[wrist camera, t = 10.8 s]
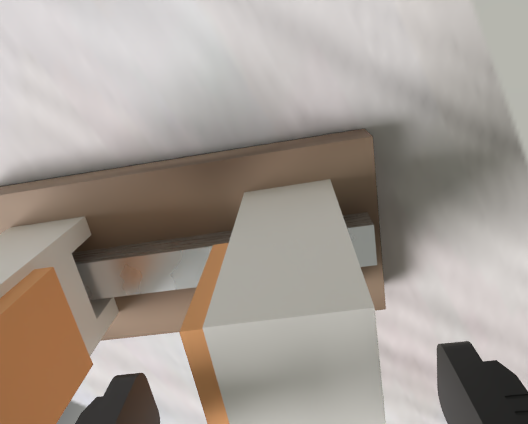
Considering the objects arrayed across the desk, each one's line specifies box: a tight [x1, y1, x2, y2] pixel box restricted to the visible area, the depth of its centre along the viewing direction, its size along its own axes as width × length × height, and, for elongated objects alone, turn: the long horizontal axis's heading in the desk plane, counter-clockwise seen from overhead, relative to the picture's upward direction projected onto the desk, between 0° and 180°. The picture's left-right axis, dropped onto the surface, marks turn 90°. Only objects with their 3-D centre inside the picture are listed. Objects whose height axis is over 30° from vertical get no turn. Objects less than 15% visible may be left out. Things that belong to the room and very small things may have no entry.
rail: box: [0, 129, 386, 424], centre depth 16 cm, size 9×20×12 cm, turn 100°
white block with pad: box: [180, 179, 386, 424], centre depth 15 cm, size 6×5×10 cm
